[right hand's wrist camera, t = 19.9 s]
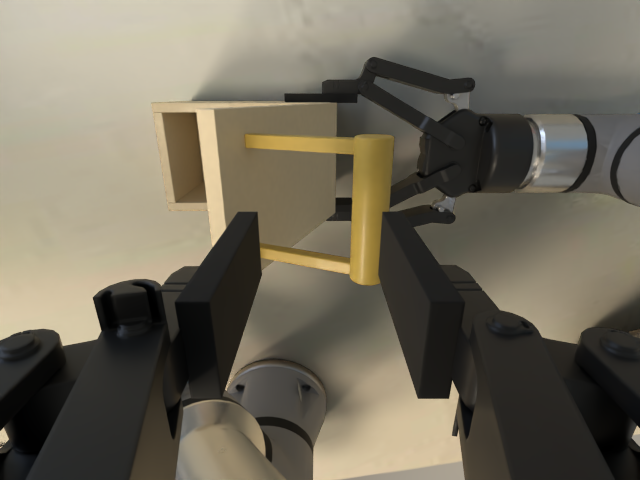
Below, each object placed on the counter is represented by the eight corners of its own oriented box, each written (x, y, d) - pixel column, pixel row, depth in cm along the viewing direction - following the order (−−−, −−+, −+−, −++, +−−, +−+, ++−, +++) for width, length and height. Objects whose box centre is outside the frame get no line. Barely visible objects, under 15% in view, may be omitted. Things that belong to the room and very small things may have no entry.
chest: (199, 186, 44) (168, 210, 34) (188, 100, 40) (151, 102, 31) (326, 186, 44) (329, 210, 35) (327, 100, 40) (331, 102, 31)
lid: (217, 290, 20) (368, 326, 17) (195, 108, 17) (381, 111, 14) (324, 211, 34) (420, 223, 31) (325, 102, 31) (433, 103, 27)
